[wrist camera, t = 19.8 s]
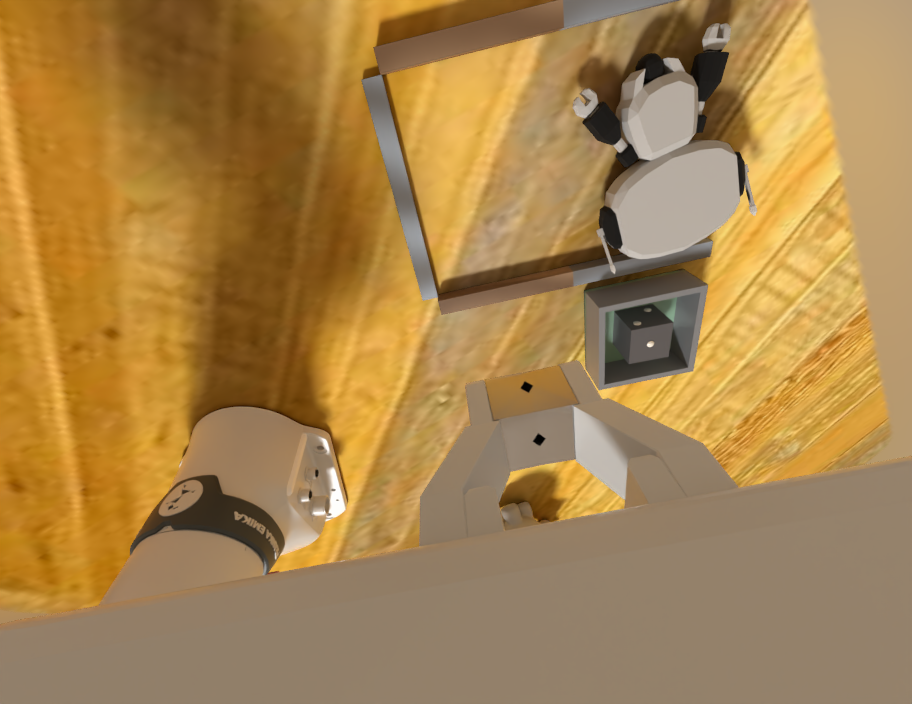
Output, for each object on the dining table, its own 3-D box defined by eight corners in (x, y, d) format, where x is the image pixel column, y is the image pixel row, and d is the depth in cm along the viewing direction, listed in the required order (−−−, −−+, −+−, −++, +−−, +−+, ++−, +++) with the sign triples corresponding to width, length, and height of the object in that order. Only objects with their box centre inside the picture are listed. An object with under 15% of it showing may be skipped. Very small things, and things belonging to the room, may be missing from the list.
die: (649, 336, 42) (669, 356, 39) (612, 343, 42) (628, 364, 39) (653, 303, 40) (674, 322, 36) (614, 310, 40) (631, 330, 37)
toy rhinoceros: (523, 519, 64) (548, 573, 59) (476, 522, 56) (500, 585, 51) (554, 497, 62) (584, 551, 56) (509, 497, 53) (539, 561, 48)
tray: (672, 350, 44) (693, 371, 41) (585, 368, 44) (598, 390, 41) (683, 268, 38) (708, 284, 35) (583, 290, 39) (599, 308, 36)
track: (700, 251, 38) (710, 256, 36) (426, 311, 39) (426, 318, 38) (746, -46, 26) (762, -53, 25) (355, 54, 27) (352, 52, 26)
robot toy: (553, 99, 31) (598, 267, 38) (570, 94, 27) (617, 282, 34) (710, 19, 29) (727, 212, 36) (754, 1, 25) (763, 221, 32)
